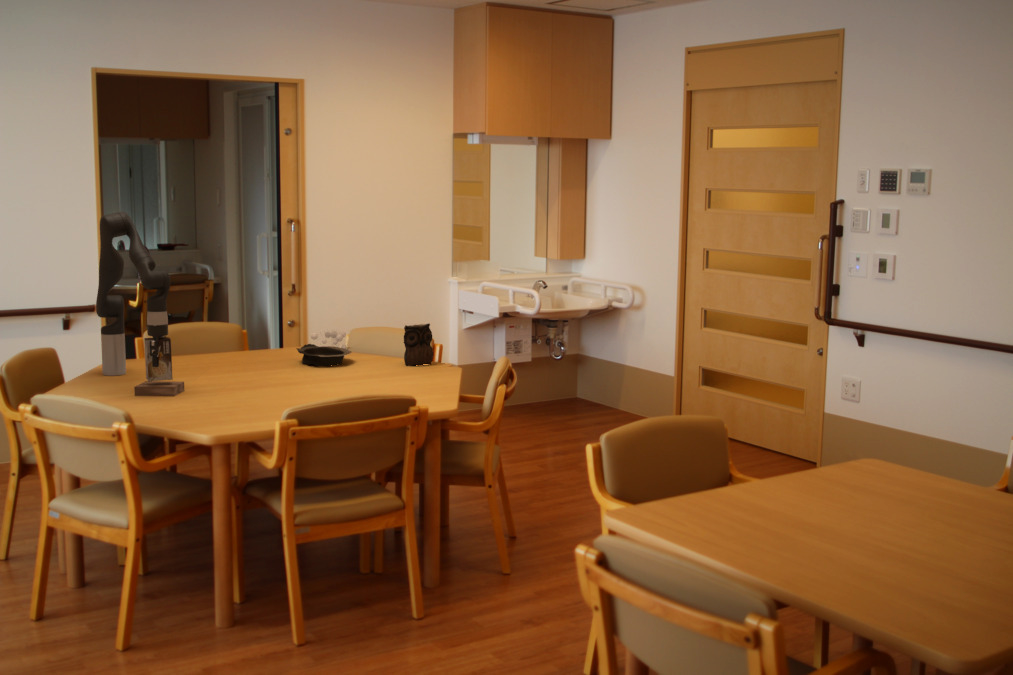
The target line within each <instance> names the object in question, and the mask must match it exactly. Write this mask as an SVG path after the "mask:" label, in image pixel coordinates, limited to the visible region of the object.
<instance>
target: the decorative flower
mask: <svg viewBox="0 0 1013 675" xmlns="http://www.w3.org/2000/svg"><path fill="white" fill-rule="evenodd" d="M337 330H338V329H336V330H335V329H334V330H332V331H328V329H327V331H326V332H324V337H325V338H323V339H322V341H321V343H322V344H323V345H330V344H331V346H332V347H340V348H343V349H348V347H347V344H345V343H346V342H345V343H344V344H342V341H344V339H345V338H346V332H345V331H344V330H341V331H339V330H338V331H337ZM320 334H321V336H323V335H322V333H320ZM318 337H319V334H318V333H317V332H312V333H311V334H310V339H312V340H313V341H315V340H318ZM330 338H331V343H330V342H328V340H327V339H330ZM339 345H340V346H339Z"/></svg>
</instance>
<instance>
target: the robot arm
mask: <svg viewBox="0 0 1013 675" xmlns="http://www.w3.org/2000/svg"><path fill="white" fill-rule="evenodd" d="M123 236H127V238H128V239H129V248H128V256H129V260H130V261H131V263H132V264H133V266H134V267H135V268H136V270H137V273H138V277H139V278H140V279H139V280H140V283H141V285H142V287H143V288H145V289H147V290H150V291H152V290H155V292H154V294H153V295H150V296H148V297H147V298H146V304H147V305H146V306H147V307H146V309H147V312H146V313H147V314H146V326H147V328H146V330H147V334H146V335H147V336H149V337H151V338H153V340H152V341H151V340H150V356H151V357H152V366H153V367H158V366H159V352H161V346H159V339H160V338H163V337H167V336H168V335H169V319H168V318H169V316H168V306H167V300H168V297H169V291H170V288H171V282H172V280H171V275H170V273H169V272H167V271H166V270H155V269H156V262H155V260H154V259H153V257H152V256H151V254H150V252H149V251H148V250H147V249H146V246H145V245H144V243H143V241H142V238H141V237H140V234H139V232H138V231H137V228H136V226H135V224H134V222H133V220H132V219H131V217H130V215H129V214H128V213H127V212H125V211H118V212H112V213H108V214H104V215H102V216H101V217H100V220H99V239H100V240H99V242H100V248H99V249H100V251H99V262H98V265H99V266H98V287H97V294H96V300H95V301H96V302H95V311H96V315H97V316H98V317H99V318H102V319H105V318H108V319H109V318H114V320H113V321H112V322H110V323H109V324H105V325H103V326H102V327H101V328H100V338H101V343H100V344H101V363H102V364H101V366H102V369H101V370H102V371H101V372H102V375H103V376H123V375H125V374H127V362H126V360H127V358H126V357H127V356H126V337H125V336H126V332H125V300H124V297H123V296H122V295H121V294H119V295H118V294H116V295H109V293H110V292H111V290H112V289H113V288H114V287H115V286H116V285H117V284H118V283H119V282H120V281H121V279H122V278H123V276H124V269H125V261H124V258H123V256H122V255H121V253H119V251H118V250H117V249H116V248H115V247H114V244H113V240H114V238H118V237H123ZM153 346H154V347H153ZM157 346H159V349H157ZM154 351H155V353H154Z"/></svg>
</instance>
